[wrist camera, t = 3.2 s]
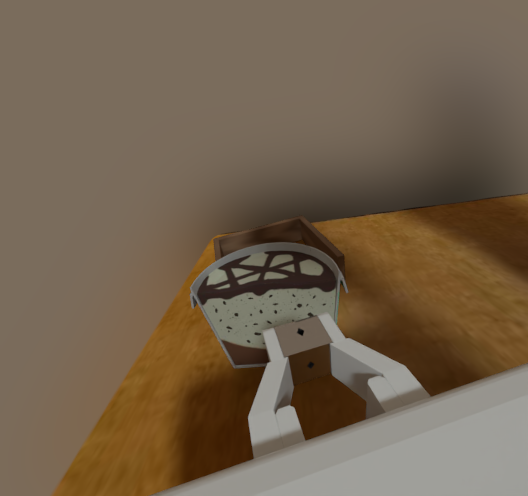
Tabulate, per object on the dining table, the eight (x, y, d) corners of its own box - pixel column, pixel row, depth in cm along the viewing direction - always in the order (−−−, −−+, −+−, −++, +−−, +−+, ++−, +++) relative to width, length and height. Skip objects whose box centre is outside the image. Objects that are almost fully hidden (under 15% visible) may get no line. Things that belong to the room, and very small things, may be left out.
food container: (337, 311, 28) (332, 231, 23) (350, 361, 22) (347, 270, 17) (230, 321, 29) (205, 248, 25) (218, 369, 24) (183, 288, 19)
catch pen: (304, 236, 44) (301, 215, 42) (345, 281, 32) (344, 255, 30) (220, 259, 43) (213, 238, 41) (227, 317, 30) (218, 291, 28)
